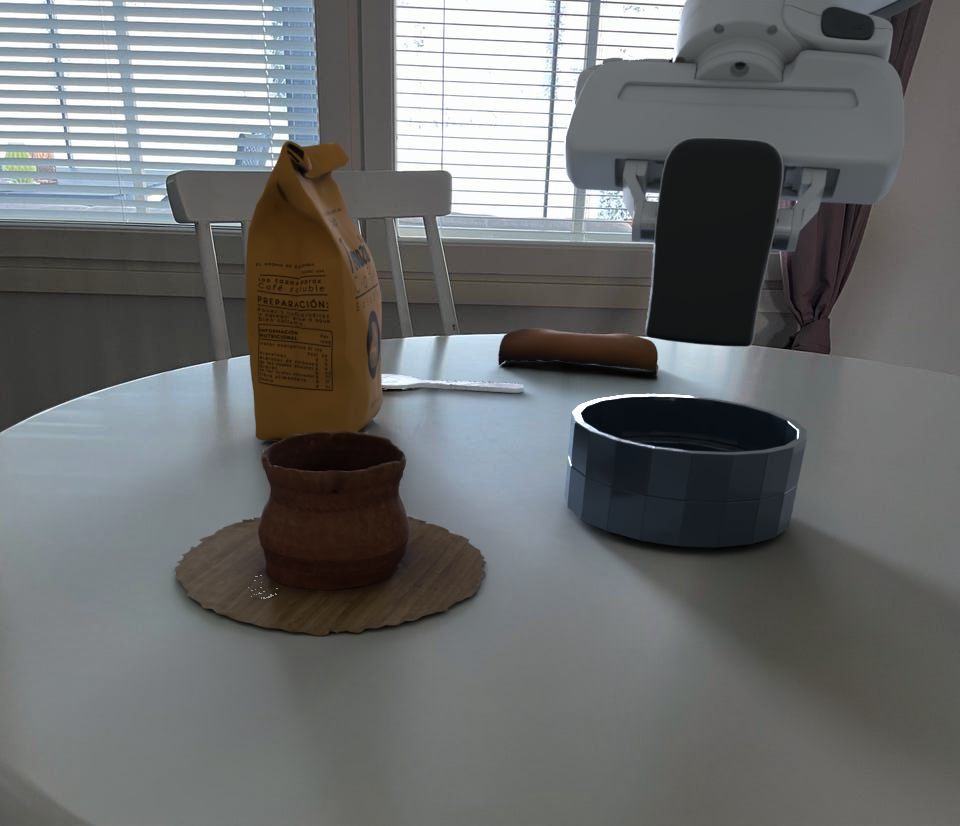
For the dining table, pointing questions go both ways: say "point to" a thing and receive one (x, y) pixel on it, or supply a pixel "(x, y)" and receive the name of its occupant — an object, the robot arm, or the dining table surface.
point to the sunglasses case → (579, 349)
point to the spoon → (446, 384)
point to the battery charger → (713, 240)
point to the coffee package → (311, 302)
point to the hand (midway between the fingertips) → (713, 239)
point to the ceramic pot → (331, 545)
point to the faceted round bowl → (683, 469)
